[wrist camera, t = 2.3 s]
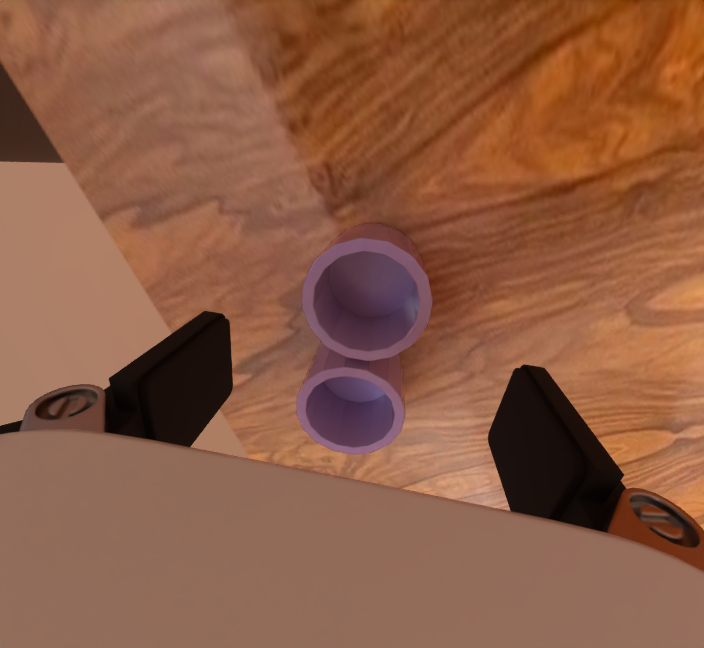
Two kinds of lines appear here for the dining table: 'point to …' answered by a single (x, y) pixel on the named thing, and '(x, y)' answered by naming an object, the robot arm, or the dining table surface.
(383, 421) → the purple cup
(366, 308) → the cup
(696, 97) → the dining table surface
